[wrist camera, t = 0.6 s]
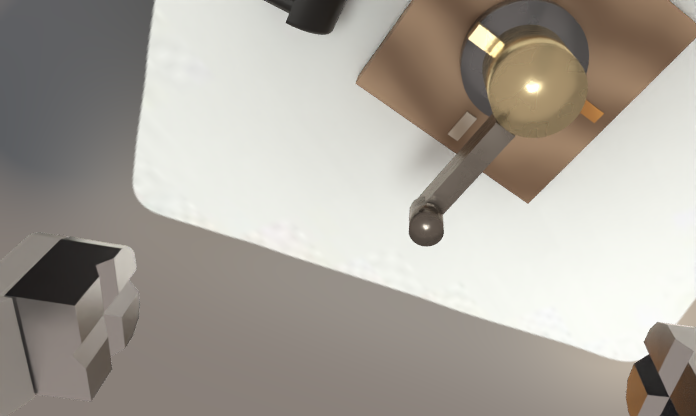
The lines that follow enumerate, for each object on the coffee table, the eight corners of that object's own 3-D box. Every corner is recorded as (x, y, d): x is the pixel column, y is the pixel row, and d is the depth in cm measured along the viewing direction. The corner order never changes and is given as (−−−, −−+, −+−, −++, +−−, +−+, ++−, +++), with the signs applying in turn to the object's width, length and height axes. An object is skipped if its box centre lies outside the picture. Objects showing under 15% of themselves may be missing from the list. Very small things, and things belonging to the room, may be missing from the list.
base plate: (506, -133, 40) (510, -133, 38) (693, 23, 44) (705, 30, 42) (358, 75, 49) (355, 84, 47) (524, 192, 52) (528, 204, 50)
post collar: (515, -31, 41) (519, -26, 40) (609, 44, 43) (617, 51, 41) (435, 71, 46) (436, 79, 44) (524, 135, 47) (528, 145, 46)
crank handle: (501, -9, 40) (516, 16, 33) (605, 72, 42) (640, 111, 35) (369, 158, 47) (360, 207, 41) (463, 220, 49) (469, 277, 42)
